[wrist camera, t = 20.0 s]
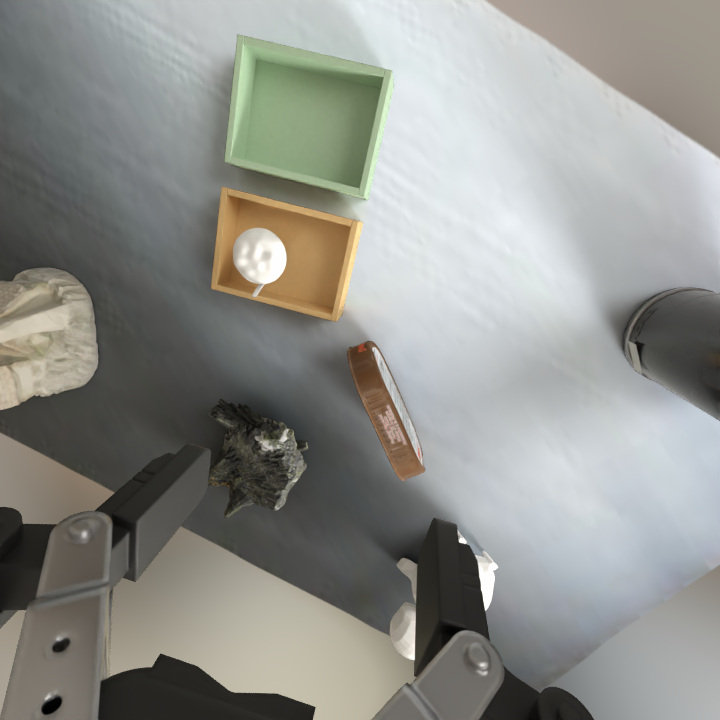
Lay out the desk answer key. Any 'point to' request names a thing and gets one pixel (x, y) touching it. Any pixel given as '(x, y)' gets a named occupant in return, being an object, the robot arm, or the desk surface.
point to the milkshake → (265, 256)
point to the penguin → (406, 615)
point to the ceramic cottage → (45, 335)
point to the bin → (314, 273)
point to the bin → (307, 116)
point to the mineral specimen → (255, 458)
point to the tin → (386, 409)
